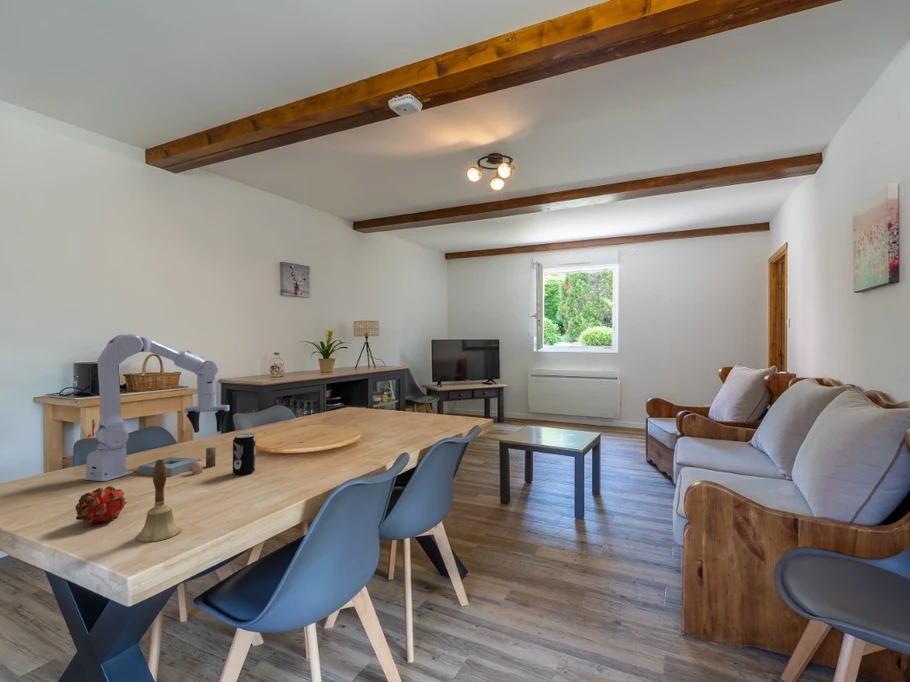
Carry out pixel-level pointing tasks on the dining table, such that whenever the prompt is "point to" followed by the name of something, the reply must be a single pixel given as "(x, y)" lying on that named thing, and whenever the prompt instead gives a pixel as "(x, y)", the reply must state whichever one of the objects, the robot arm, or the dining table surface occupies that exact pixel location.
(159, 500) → the hand bell
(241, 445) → the beverage can
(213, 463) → the long pin
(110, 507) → the dragon fruit
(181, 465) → the hole block
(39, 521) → the dining table surface
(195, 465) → the short pin
